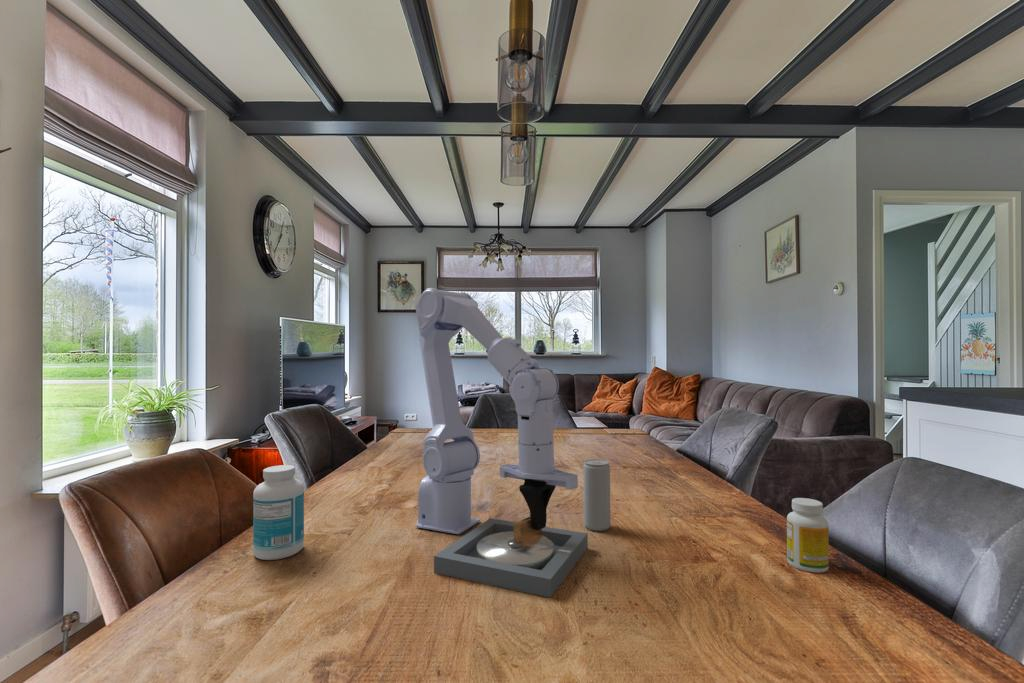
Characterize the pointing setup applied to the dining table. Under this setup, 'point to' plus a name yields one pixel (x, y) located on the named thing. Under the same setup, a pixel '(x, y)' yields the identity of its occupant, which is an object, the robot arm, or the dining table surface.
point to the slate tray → (540, 581)
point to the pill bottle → (278, 514)
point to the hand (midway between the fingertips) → (538, 527)
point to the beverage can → (596, 494)
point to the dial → (517, 546)
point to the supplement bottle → (807, 536)
